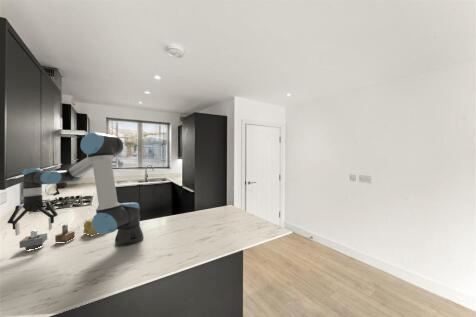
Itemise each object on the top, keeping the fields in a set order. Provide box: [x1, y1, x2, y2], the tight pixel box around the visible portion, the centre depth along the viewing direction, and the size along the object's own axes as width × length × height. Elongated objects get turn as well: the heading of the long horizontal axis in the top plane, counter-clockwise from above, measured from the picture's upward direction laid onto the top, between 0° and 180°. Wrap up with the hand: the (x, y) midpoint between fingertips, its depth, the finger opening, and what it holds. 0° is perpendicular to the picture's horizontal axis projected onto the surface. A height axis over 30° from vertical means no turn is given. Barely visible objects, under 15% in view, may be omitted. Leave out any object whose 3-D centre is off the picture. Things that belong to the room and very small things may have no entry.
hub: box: [24, 230, 44, 250], centre depth 112 cm, size 7×7×10 cm
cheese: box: [83, 217, 98, 235], centre depth 135 cm, size 10×11×10 cm
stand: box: [54, 224, 76, 243], centre depth 121 cm, size 6×6×10 cm
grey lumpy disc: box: [19, 233, 48, 249], centre depth 112 cm, size 9×9×4 cm
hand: (34, 231), depth 112 cm, fingers open, 13 cm apart
